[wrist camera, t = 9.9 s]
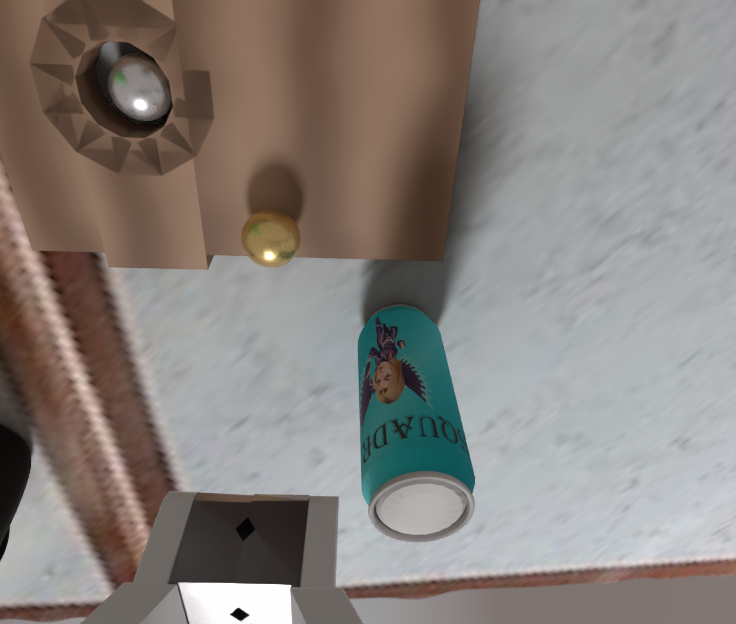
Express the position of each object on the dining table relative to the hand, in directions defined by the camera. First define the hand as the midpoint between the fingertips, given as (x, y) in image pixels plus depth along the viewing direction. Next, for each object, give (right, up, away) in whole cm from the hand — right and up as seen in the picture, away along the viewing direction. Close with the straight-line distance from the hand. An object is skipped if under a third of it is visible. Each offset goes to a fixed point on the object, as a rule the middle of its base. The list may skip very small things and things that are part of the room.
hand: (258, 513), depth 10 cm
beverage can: (+4, +2, +29) cm, 30 cm away
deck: (-5, +16, +19) cm, 26 cm away
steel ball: (-9, +15, +18) cm, 25 cm away
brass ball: (-3, +8, +20) cm, 22 cm away
